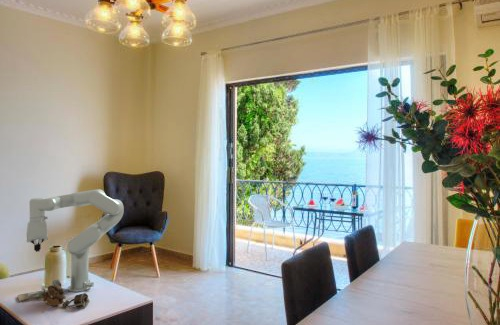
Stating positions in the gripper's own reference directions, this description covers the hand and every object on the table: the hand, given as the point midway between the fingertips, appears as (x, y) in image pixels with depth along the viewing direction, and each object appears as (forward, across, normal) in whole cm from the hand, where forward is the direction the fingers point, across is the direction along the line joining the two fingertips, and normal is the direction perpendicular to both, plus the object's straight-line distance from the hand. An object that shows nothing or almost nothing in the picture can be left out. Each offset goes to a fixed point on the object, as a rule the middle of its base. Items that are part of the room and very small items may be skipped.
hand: (37, 251), depth 206 cm
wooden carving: (+24, -2, +28) cm, 37 cm away
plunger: (+22, -1, +11) cm, 24 cm away
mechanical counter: (+24, -11, +38) cm, 46 cm away
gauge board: (+23, +1, +9) cm, 25 cm away
